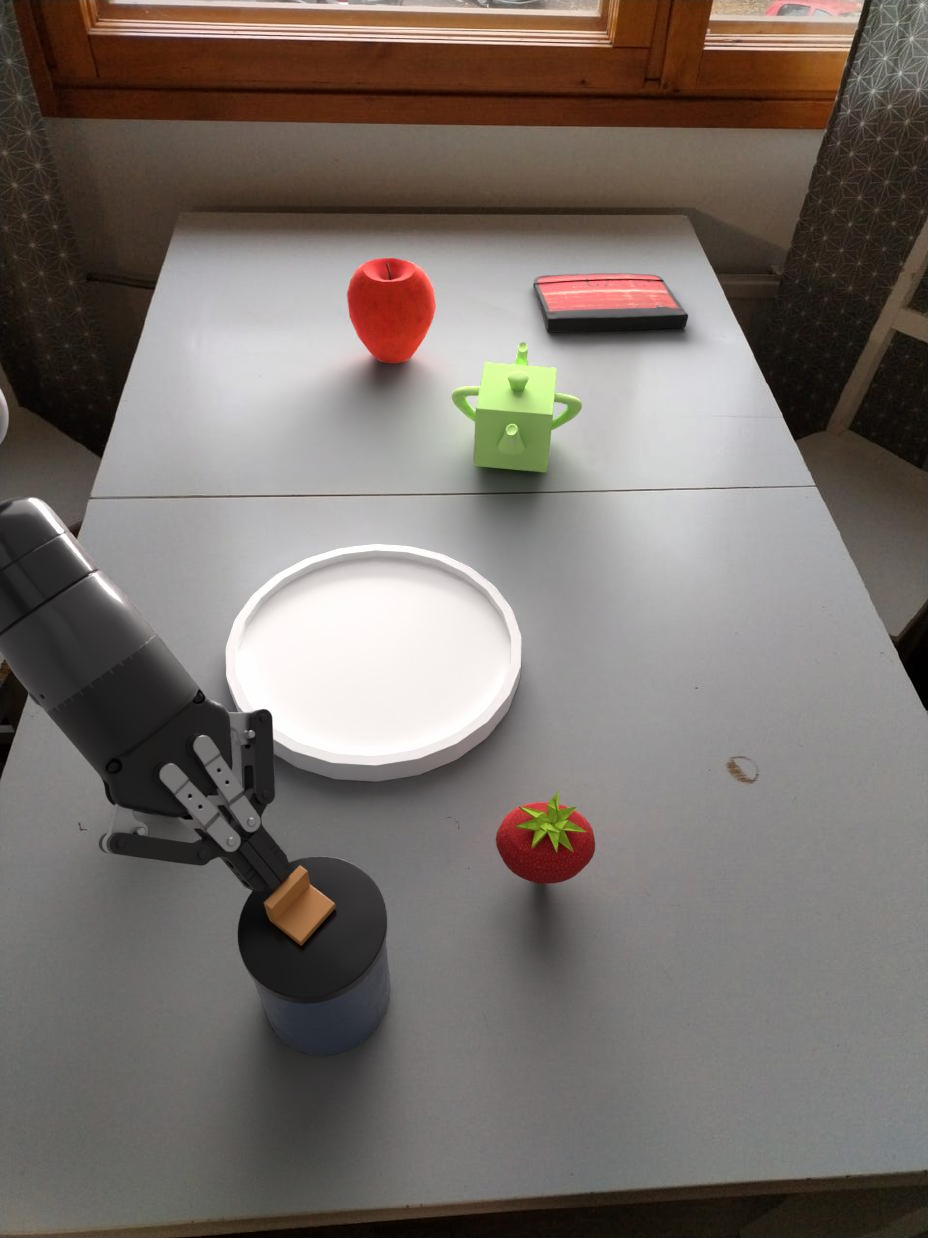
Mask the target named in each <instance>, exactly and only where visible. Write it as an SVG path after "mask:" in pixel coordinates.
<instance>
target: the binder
mask: <svg viewBox="0 0 928 1238" xmlns="http://www.w3.org/2000/svg"><path fill="white" fill-rule="evenodd" d="M532 287H533V289H534V293H535V296H536V299H537V303H538V305H539V309H540V312H541V315H542V319H543V322H544V325H545V329H546V332H548V333H555V332H556V333H558V332H559V333H562V332H563V333H565V332H567V333H568V332H595V331H597V332H598V331H601V332H602V331H627V330H628V331H629V330H631V331H632V330H654V329H655V330H656V329H657V330H659V329H683V328H684V329H685V328H686V327H687V323H688V320H689V314H688V313H687V312H686V311H685V309H684V307H683V306H682V305H681V303H680V302H679V301H678V300H677V298H676V296H675V295H674V293H673V292H672V291H671V289H670V287H669V286H668V284H667V283H666V281H665V280H664V278H662V277H661V276H658V275H655V274H650V273H648V274H647V273H631V272H630V273H629V272H609V273H607V272H606V273H605V272H604V273H602V272H598V273H597V272H596V273H567V274H566V273H565V274H563V273H562V274H547V275H540V276H537V277H535V278H534V279H533V283H532Z"/></svg>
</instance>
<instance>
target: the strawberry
mask: <svg viewBox="0 0 928 1238" xmlns="http://www.w3.org/2000/svg"><path fill="white" fill-rule="evenodd" d="M559 799H560V790H559V789H558V791H556V792H555V794H554V795H553V796H552V798H551V799H550V800H549V802H547V801H544V802H543V801H540V802H538V801H537V802H530V803H526V804H523V805H519V806H518V807H516V808H514V809H512V810H511V811H510V812H508V813H507V814H506V816H505V817H504V818H503V819H502V821H501V823H500V825H499V827H498V829H497V831H496V834H495V847H496V849H497V851H498V854H499V856H500V857H501V859H502V861H503V864H505V866H506V867H507V869H509V870H510V871H511V872H512V873H513V874H514V875H515V876H517V877H519V878H521V879H523V880H525V881H527V882H530V883H534V884H540V885H551V884H558V883H562V882H565V881H568V880H570V879H572V878H574V877H576V876H577V875H578V874H580V873H581V872H582V871H583V870H584V868H586V866H587V865H588V864H590V862H591V860H592V859H593V857H594V854H595V852H596V838H595V835H594V830H593V827H592V825H591V823H590V822H589V821H588V820H587V818H586V817H585V816H584V815H582V814H581V813H580V812H578V811H576V810H577V808H578V806H571V807H569V806H566V805H564V804H560V800H559Z"/></svg>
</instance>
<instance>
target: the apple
mask: <svg viewBox="0 0 928 1238" xmlns="http://www.w3.org/2000/svg"><path fill="white" fill-rule="evenodd" d="M347 288H348V289H347V292H346V298H347V299H346V300H347V307H348V316H349V320H350V321H351V325H352V326H353V328H354V331H355V333H356V335H357V338H358V339H359V340H360V341H361V343H362V344H363V346H364V347H365V348H366V350H367V351H368V352H369V353H370V354H371V355H372V356H373V357H374V358H375V360H378V361H379V362H382V363H386V364H400V363H405V362H406V361H408V360H409V359H411V358H412V357H413V356H414V354H415V353H416V352H417V350H419V349H418V348H419V347H420V346H421V344H422V343H423V341H424V340H425V338H426V336H427V334H428V332H429V330H430V327H431V325H432V324H433V320H434V317H435V313H436V308H437V304H436V297H435V290H434V287H433V284H432V282H431V280H430V278H429V276H428V275H427V273H426V272H425V271H424V269H423V267H421V266H419V265H417V264H415V263H414V262H411V261H408V260H405V259H400V258H396V257H384V258H375V259H371V260H368V261H366V262H364V263H362V264H361V265H359V266H358V267H357V268H356V270H355V271H354V273H353V274H352V277H351V279H350V280H349V283H348V287H347Z"/></svg>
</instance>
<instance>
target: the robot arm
mask: <svg viewBox="0 0 928 1238" xmlns="http://www.w3.org/2000/svg"><path fill="white" fill-rule="evenodd" d="M9 414H10V413H9V407H8V403H7V400H6V397H5V395H4V393H3V390H2V389H1V388H0V445H1V444H2V443H3V441H4V440H5V437H6V435H7V433H8V429H9V422H10V421H9V420H10V419H9V418H10V415H9ZM0 654H1V655H2V657H3V658H4V661H5V662H6V664H7V665H8V667H9V669H10V670H11V672H12V673H13V675H14V676H15V678H17V680H18V681H19V683H20V684H21V685H22V686H23V687H24V688H25V689H26V691H27V693H28V694H27V695H28V696H29V697H30V699H31V700H32V701H33V702H34V703H35V705H37V706H39V707H40V708H41V709H43V710H44V713H46V714H47V715H48V716H49V718H50V719H51V720H52V721H53V723H55V725H56V726H57V727H58V728H59V730H60V731H61V732H62V733H63V734H64V735H65V736H66V738H67V739H68V740H69V741H70V743H72V745H73V746H74V747H75V748H76V749H77V751H78V752H79V753H80V754H81V755H82V757H83V758H84V759H85V760H86V761H87V762H88V764H89V765H90V766H91V767H92V768H93V769H94V771H95V772H96V773H97V774H98V776H99V777H100V779H101V780H102V784H103V786H104V787H103V788H104V792H105V793H104V794H105V796H106V799H107V801H108V802H109V803H110V804H111V805H112V806H113V807H112V812H111V815H110V821H109V823H108V827H107V832H105V833H103V834H102V835H101V836H100V838H99V840H98V848H99V849H100V851H102V852H103V853H105V854H110V855H116V856H117V855H118V856H126V857H130V858H131V857H133V858H139V859H146V860H153V861H162V862H167V863H168V862H169V863H177V864H183V865H190V866H198V867H199V866H206V865H207V864H209V863H210V861H212V860H215V859H217V858H219V859H221V861H222V862H223V863H224V864H225V865H226V866H227V868H228V869H229V870H230V871H231V873H232V874H233V875H234V876H235V877H236V879H238V881H239V882H240V883H241V884H242V886H243V887H244V888H245V889H248V890H249V891H251V892H252V891H257V892H262V891H263V892H268V893H274V891H275V890H276V889H277V888H278V887H279V886H280V885H281V884H282V883H283V882H284V881H285V880H286V879H287V878H288V877H289V873H288V871H287V870H286V869H285V867H286V866H287V865H288V864H289V862H290V861H289V858H288V855H287V854H286V853H285V852H284V850H283V849H282V848H281V847H280V845H279V844H278V843H277V842H276V840H275V839H274V838H273V837H272V835H270V833H269V832H268V830H267V829H266V828H265V827H264V824H263V821H262V819H263V818H262V817H263V814H264V812H265V810H266V807H267V806H268V805H270V804H271V803H273V801H274V800H275V797H276V780H275V778H276V777H275V754H274V747H273V718H272V714H271V712H270V711H268V710H267V709H260V710H254V711H250V712H238V711H233V712H229V711H228V708H227V707H225V706H224V705H223V704H222V703H220V702H219V701H218V702H217V701H215V700H213V699H212V698H210V697H208V696H207V695H206V694H205V693H204V691H203V690H202V688H201V687H200V686H199V684H198V683H197V682H196V681H195V680H194V677H192V676H191V674H190V673H189V672H188V670H187V668H185V667H184V665H182V663H181V662H180V660H179V659H178V658H177V657H176V655H175V654H174V653H173V651H171V649H170V648H169V647H168V646H167V644H166V643H165V642H164V641H163V639H162V638H161V636H160V635H159V634H158V633H157V632H156V630H155V629H154V628H153V626H152V625H151V624H150V623H149V621H148V620H147V619H146V618H145V617H144V615H143V614H142V613H141V611H140V610H139V609H138V608H137V606H136V605H135V604H134V602H132V600H131V599H130V598H129V597H128V596H127V595H126V593H124V591H123V590H122V589H120V588H119V587H118V586H117V585H116V584H115V583H114V582H113V581H112V580H111V579H110V578H109V577H108V576H107V575H106V574H105V573H104V572H103V570H102V569H101V570H100V568H99V566H98V564H97V563H96V562H95V561H94V559H93V558H92V557H91V555H90V554H89V552H87V550H86V549H85V548H84V547H83V546H82V544H81V543H80V542H79V540H78V539H77V538H76V537H75V535H74V534H73V533H72V532H71V531H70V529H69V528H68V527H67V526H66V524H65V523H64V522H63V520H62V519H61V518H60V517H59V515H57V513H56V512H55V511H54V509H52V507H51V506H49V505H48V503H46V502H45V501H44V500H43V499H41V498H38V497H36V496H33V495H18V496H14V497H11V498H8V499H5V500H2V501H0ZM232 739H233V741H234V743H235V744H236V745H237V746H240V769H241V770H240V771H241V773H240V774H241V783H240V780H238V778H237V777H236V776H235V774H234V772H233V771H232V770H233V764H234V763H233V761H234V760H233V748H232ZM134 812H137V813H141V814H146V815H151V816H157V817H162V818H168V819H178V820H179V822H180V823H182V824H183V825H184V826H185V827H186V828H188V829H189V830H191V831H192V832H193V833H194V834H195V836H197V837H198V838H199V839H197V840H195V841H193V842H188V841H182V840H175V839H169V838H161V837H155V836H149V831H150V829H149V826H148V824H147V823H146V822H145V821H142V820H139V819H138V818H137V817H136V816H135V813H134Z"/></svg>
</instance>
